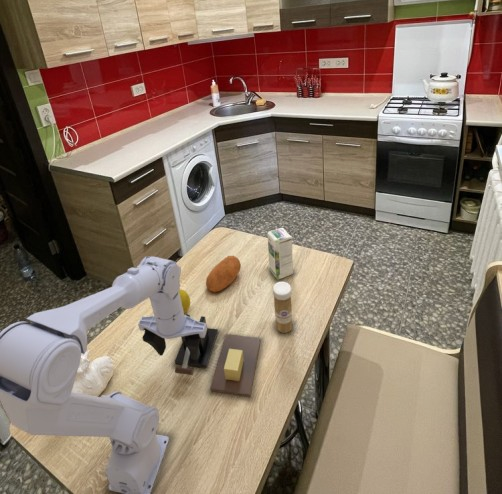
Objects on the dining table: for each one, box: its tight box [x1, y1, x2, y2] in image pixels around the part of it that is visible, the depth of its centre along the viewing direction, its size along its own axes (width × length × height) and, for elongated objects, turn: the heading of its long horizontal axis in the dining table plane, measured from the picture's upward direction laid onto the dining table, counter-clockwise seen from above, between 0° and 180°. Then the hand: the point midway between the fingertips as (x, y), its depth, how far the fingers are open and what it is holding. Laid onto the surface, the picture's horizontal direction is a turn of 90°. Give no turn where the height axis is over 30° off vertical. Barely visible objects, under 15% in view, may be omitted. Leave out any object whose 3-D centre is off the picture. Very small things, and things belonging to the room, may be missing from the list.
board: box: [209, 333, 261, 398], centre depth 82 cm, size 14×9×1 cm, turn 169°
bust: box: [72, 349, 115, 397], centre depth 78 cm, size 12×8×11 cm
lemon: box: [179, 289, 191, 314], centre depth 96 cm, size 6×6×8 cm
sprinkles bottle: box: [272, 281, 293, 334], centre depth 88 cm, size 5×5×14 cm
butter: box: [224, 349, 244, 381], centre depth 79 cm, size 5×3×4 cm, turn 169°
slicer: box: [174, 314, 219, 369], centre depth 85 cm, size 10×8×9 cm
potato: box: [205, 255, 242, 293], centre depth 106 cm, size 7×13×7 cm, turn 137°
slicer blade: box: [174, 347, 194, 376], centre depth 82 cm, size 11×4×2 cm, turn 168°
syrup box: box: [266, 227, 294, 281], centre depth 106 cm, size 6×6×14 cm
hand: (178, 353), depth 76 cm, fingers open, 7 cm apart
